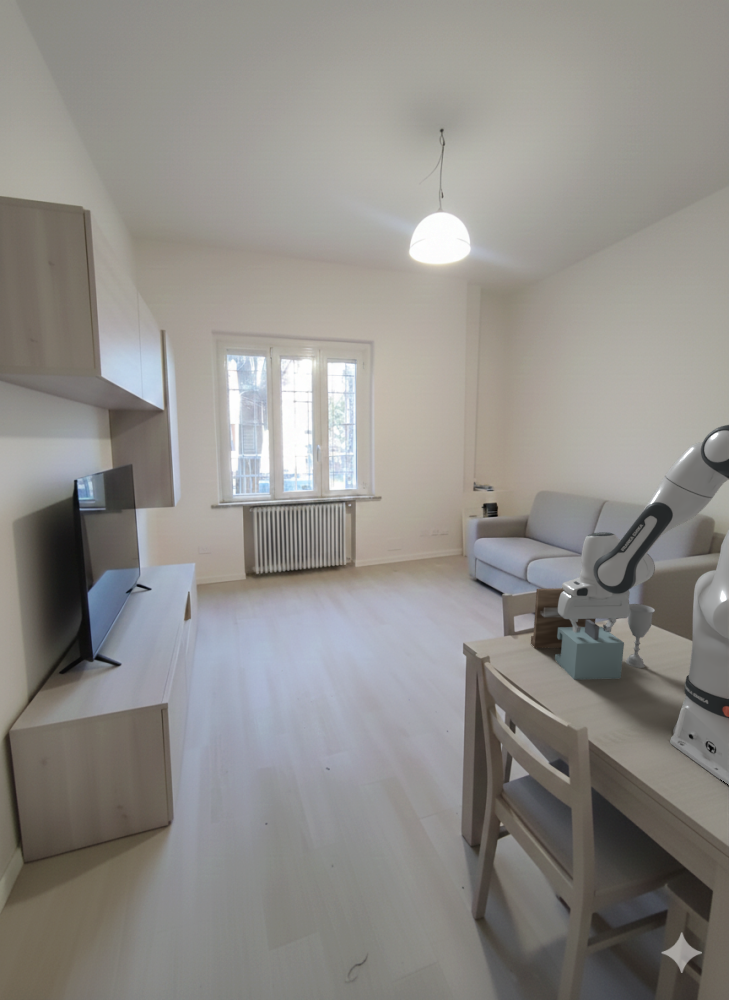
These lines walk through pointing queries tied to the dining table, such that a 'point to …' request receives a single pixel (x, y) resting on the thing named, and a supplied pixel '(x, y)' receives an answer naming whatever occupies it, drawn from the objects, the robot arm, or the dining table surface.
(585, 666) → the cabinet
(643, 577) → the robot arm
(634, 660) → the chalice
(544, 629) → the wall board
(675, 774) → the dining table surface
